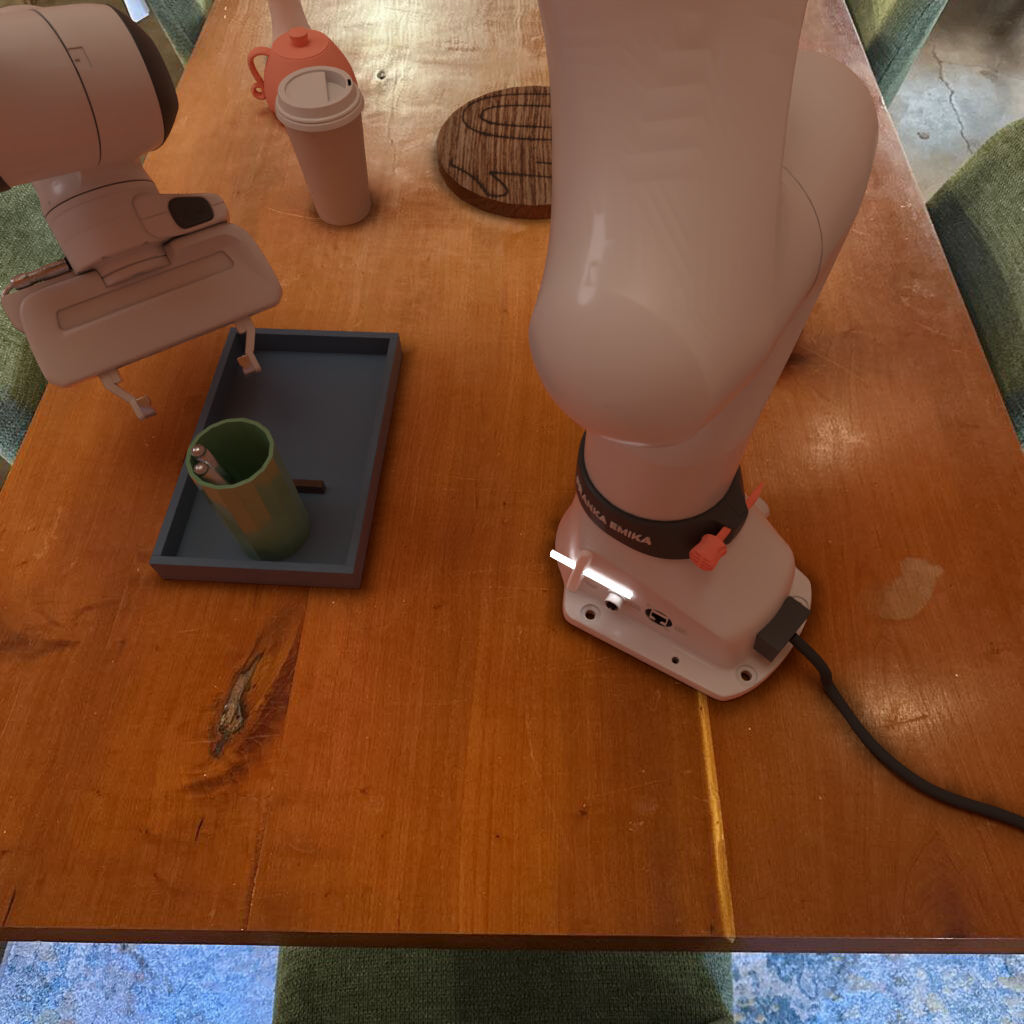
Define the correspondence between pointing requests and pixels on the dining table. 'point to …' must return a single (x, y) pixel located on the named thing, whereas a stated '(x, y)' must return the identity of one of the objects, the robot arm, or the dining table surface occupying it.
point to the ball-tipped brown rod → (209, 474)
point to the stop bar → (310, 486)
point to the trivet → (501, 152)
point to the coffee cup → (327, 140)
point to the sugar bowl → (294, 60)
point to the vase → (286, 16)
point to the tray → (295, 454)
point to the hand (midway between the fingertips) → (202, 395)
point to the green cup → (253, 490)
